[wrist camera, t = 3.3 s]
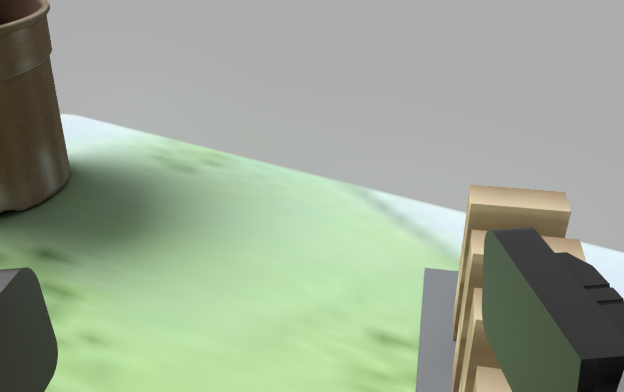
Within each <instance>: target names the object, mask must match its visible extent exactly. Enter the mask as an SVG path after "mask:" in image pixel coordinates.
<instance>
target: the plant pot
mask: <svg viewBox="0 0 624 392" xmlns="http://www.w3.org/2000/svg"><path fill="white" fill-rule="evenodd" d="M49 9H50V5H49V1H48V0H0V213H1V212H3V211H6V210H18V211H23V210H25V209H28V208H30V207H32V206H34V205H37V204H39V203H41V202H42V201H44V200H46V199H48V198H49V197H51V196H52V195H54V194H55V193H56V192H57V191H59V190H60V189H61V188H62V187H63V186H64V184H65V183H66V182H67V180H68V178H69V176H70V167H69V161H68V156H67V150H66V145H65V139H64V134H63V128H62V123H61V118H60V113H59V107H58V101H57V96H56V91H55V84H54V79H53V74H52V68H51V62H50V56H49V55H50V53H51V51H52V47H51V40H50V34H49V28H48V22H47V15H46V14H47V13H48V12H49Z"/></svg>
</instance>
